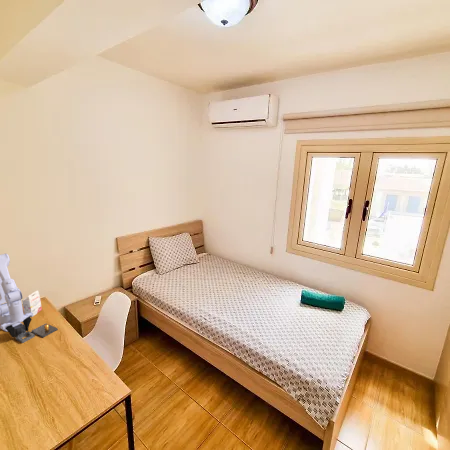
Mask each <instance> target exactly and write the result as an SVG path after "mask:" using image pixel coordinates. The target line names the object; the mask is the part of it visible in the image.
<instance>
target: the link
mask: <svg viewBox="0 0 450 450" xmlns="http://www.w3.org/2000/svg"><path fill="white" fill-rule="evenodd" d="M14 333H15V337H14V338H15V340H16V341H17V342H19V343H21V344H24V343H26V342H28V341H29V340H31V339H33V338H35V335H36V334H34V333H32V332H31V331H29V330H28V331H26V328H25V325H24V323H22V324H19V325H17V326H15V327H14Z"/></svg>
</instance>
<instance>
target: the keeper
mask: <svg viewBox="0 0 450 450" xmlns="http://www.w3.org/2000/svg"><path fill="white" fill-rule="evenodd" d="M58 330H59V329H58V327H55V326H53V325H51V324H49V323H43V324H42V325H40V326H38V327H36V328H33V329H32V330H31V331H30V332H31V333H33V334H34V335H36V336H39V337H41V338H45V337H47V336H49V335H51V334H52V333H55V332H56V331H58Z"/></svg>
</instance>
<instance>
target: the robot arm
mask: <svg viewBox="0 0 450 450" xmlns="http://www.w3.org/2000/svg"><path fill="white" fill-rule="evenodd" d="M10 261H11V258H10V256H9V254H8V253H1V254H0V329H1V330H3V331H4V332H6V333H7V332H8V333H9V334H10V337H11V338H13V339H14V338H15V333H14V327H15V326H17V325H19V324H23V325H25V328H26V332H28V331H29V329H30V324H31V322H32V318H33V317H34V316H33V313H32V312H30V313H27V314H25V313H24V308H23V302H22V300H23V293H22V291H21V289H20V288H19V287H18V286H17V284H16V281H15V279H14V278H11V275H10V272H9V268H8V267H9V266H10V263H11V262H10ZM32 316H33V317H32Z"/></svg>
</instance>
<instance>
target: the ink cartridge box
mask: <svg viewBox="0 0 450 450" xmlns="http://www.w3.org/2000/svg"><path fill="white" fill-rule="evenodd" d="M21 302H22V308H23V314H27V313H30V312H32V313H33V316H32V317H31V318H33V317H34V316H36V315H38V313H40V312H41V311H43V308H42V301H41V296H40V291H39V290H35V291H33V292H32V293H31V294H29V295H28V296H27V297H25V298H24V299H23V298H22V299H21Z"/></svg>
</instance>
